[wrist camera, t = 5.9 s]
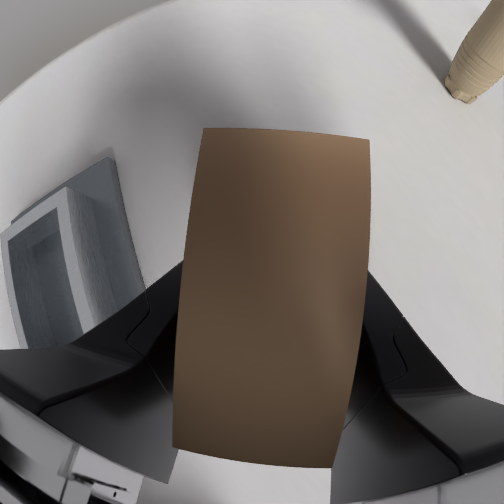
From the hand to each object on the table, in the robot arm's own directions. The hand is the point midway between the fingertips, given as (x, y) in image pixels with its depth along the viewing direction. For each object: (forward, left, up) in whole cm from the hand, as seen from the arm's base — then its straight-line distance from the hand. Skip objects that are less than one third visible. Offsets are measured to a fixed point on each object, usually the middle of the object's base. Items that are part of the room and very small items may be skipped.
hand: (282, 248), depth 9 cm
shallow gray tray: (-10, +11, -9) cm, 18 cm away
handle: (+21, -5, -9) cm, 23 cm away
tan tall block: (-1, -1, -7) cm, 7 cm away
